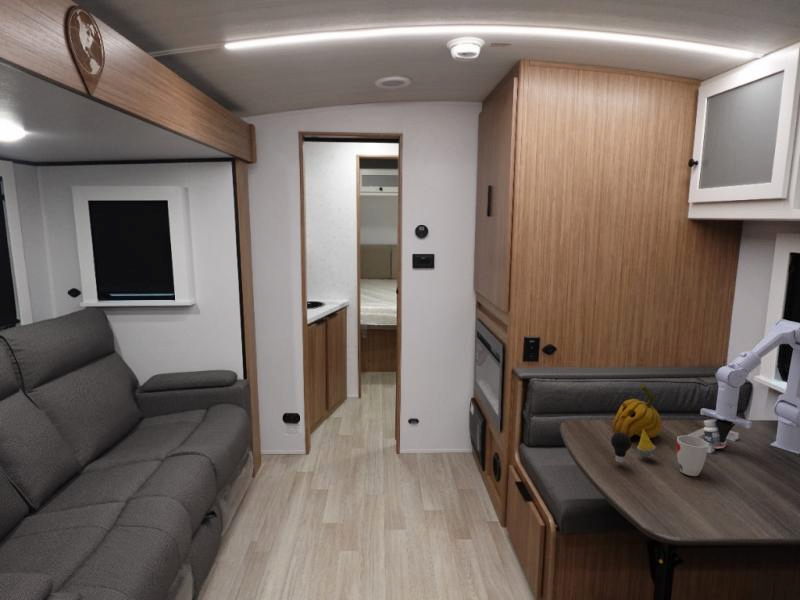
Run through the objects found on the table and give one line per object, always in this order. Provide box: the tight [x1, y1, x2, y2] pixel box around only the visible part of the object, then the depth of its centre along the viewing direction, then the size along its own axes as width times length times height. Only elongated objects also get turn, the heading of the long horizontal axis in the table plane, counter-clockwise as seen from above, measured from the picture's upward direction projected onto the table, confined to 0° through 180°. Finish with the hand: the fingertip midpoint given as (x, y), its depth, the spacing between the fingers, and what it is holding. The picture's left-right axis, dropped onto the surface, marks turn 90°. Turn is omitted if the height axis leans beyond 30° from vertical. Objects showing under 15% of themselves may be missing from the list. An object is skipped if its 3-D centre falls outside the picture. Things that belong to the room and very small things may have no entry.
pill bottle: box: [703, 419, 726, 450], centre depth 163 cm, size 5×5×9 cm
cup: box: [676, 435, 708, 477], centre depth 146 cm, size 8×8×10 cm
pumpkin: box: [611, 384, 662, 439], centre depth 171 cm, size 14×16×20 cm
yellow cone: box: [636, 429, 657, 459], centre depth 155 cm, size 5×5×10 cm
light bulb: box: [610, 432, 632, 464], centre depth 151 cm, size 6×6×10 cm
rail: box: [685, 427, 740, 454], centre depth 168 cm, size 20×9×2 cm, turn 123°
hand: (722, 441), depth 160 cm, fingers closed, pressing on pill bottle
